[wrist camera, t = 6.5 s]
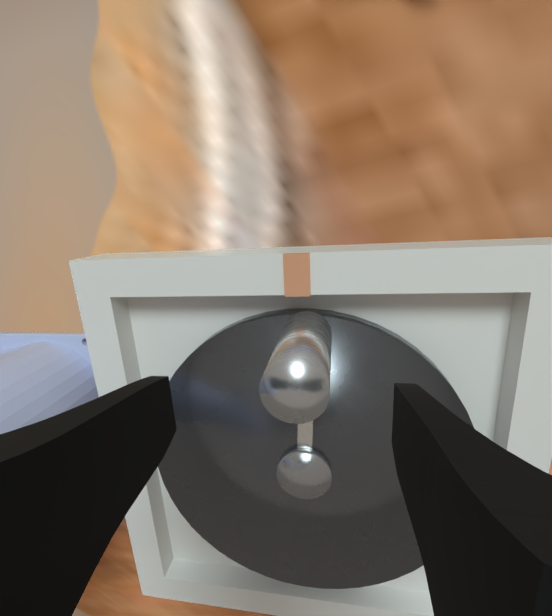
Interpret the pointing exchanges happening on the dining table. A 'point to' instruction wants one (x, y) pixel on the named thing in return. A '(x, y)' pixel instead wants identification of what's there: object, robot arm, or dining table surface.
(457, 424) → the robot arm
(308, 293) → the dial base
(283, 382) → the dial
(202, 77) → the dining table surface
